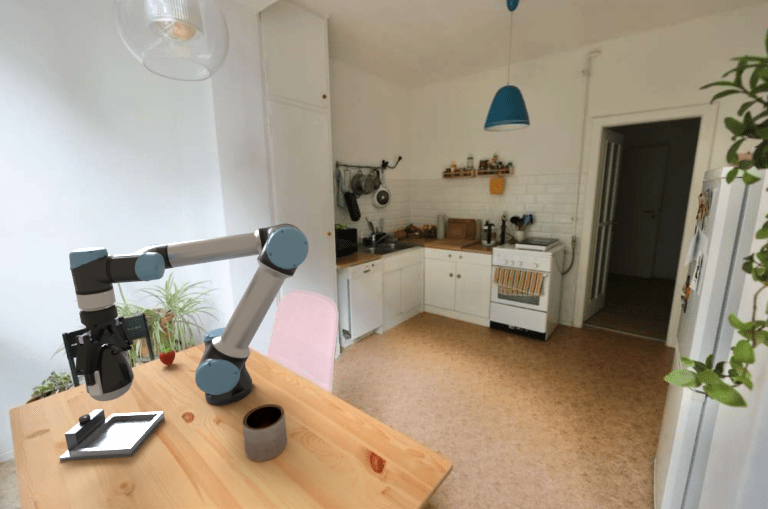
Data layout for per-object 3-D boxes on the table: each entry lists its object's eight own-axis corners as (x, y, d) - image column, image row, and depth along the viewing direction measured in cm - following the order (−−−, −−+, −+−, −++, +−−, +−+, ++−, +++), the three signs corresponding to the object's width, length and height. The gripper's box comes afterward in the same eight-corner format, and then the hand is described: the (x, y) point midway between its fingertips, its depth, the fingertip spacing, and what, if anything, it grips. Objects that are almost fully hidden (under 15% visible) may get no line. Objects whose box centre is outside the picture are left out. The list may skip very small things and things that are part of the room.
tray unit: (164, 418, 103) (161, 397, 101) (131, 456, 88) (127, 432, 87) (103, 421, 101) (99, 400, 100) (59, 460, 87) (54, 436, 85)
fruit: (164, 370, 131) (161, 351, 129) (158, 366, 134) (155, 348, 132) (179, 364, 135) (176, 345, 134) (172, 360, 138) (170, 342, 136)
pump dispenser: (110, 409, 86) (100, 355, 83) (78, 404, 88) (68, 351, 85) (145, 386, 96) (137, 337, 93) (116, 383, 98) (107, 335, 95)
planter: (247, 469, 84) (243, 436, 82) (243, 441, 93) (240, 410, 91) (291, 453, 88) (288, 421, 87) (283, 428, 98) (280, 399, 96)
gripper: (114, 293, 98) (125, 362, 102) (42, 323, 76) (60, 410, 80) (140, 293, 99) (151, 361, 103) (76, 322, 76) (93, 408, 81)
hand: (111, 382), depth 91 cm, fingers closed on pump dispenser, 10 cm apart
